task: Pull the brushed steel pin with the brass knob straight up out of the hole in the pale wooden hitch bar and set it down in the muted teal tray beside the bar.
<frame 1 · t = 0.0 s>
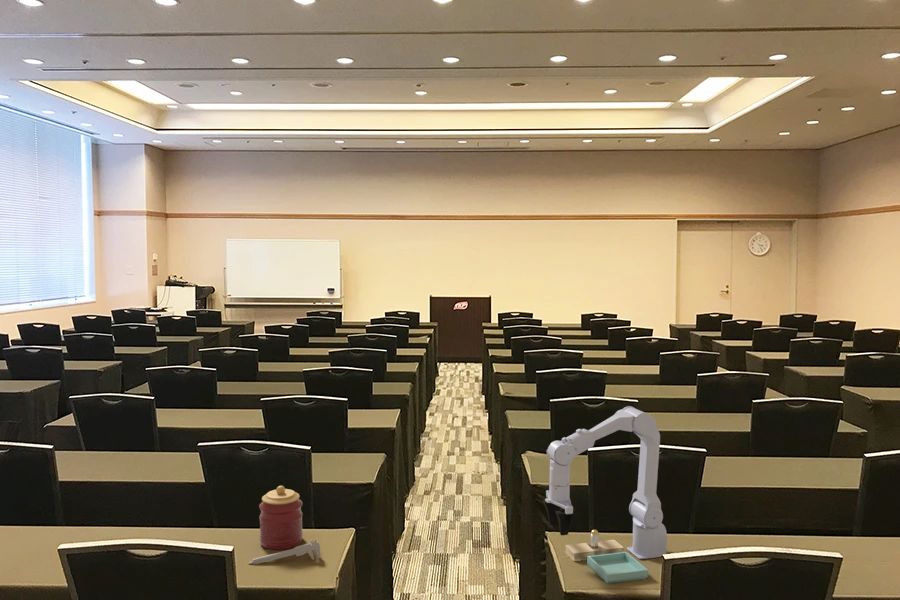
hand: (558, 529, 215), 10 cm above the table, tool pointing down, fingers open, 7 cm apart
caliper: (284, 562, 217), on the table
canister: (281, 542, 230), on the table
pin: (594, 542, 222), in the hitch bar
hitch bar: (594, 554, 222), on the table
tray: (616, 571, 211), on the table
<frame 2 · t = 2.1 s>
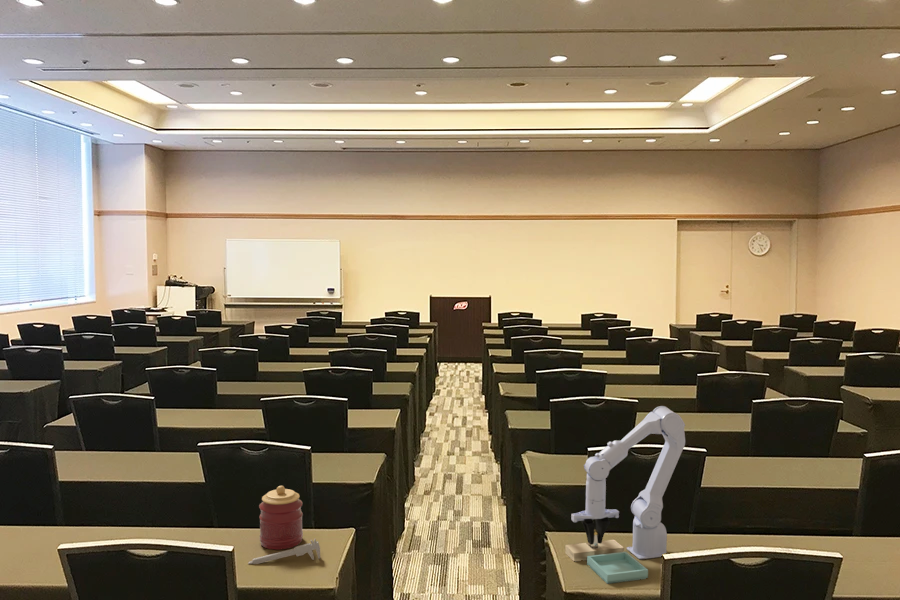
hand: (594, 542, 222), 4 cm above the table, tool pointing down, fingers closed on pin, 2 cm apart
pin: (594, 542, 222), in the hitch bar, touching gripper
everything else where it was.
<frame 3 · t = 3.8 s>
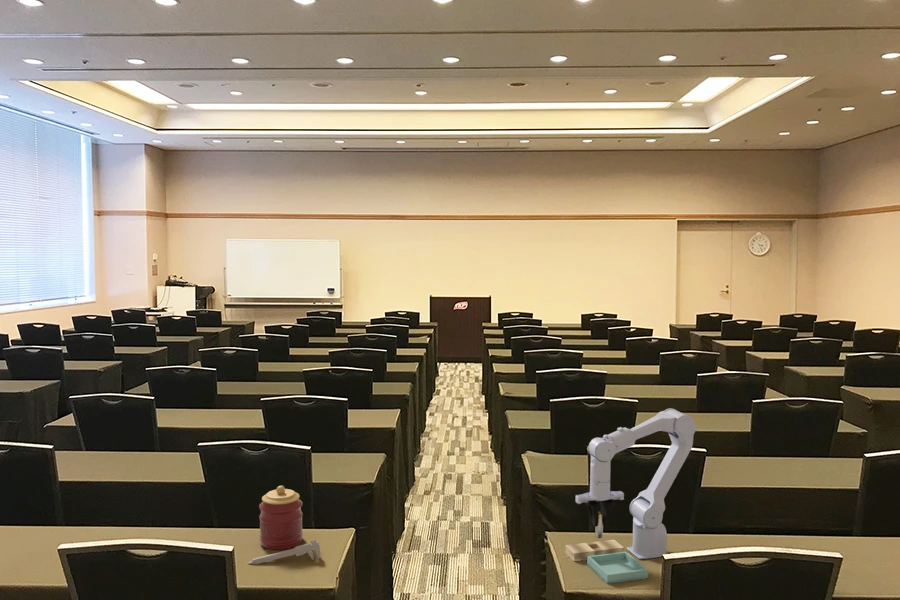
hand: (599, 524, 220), 10 cm above the table, tool pointing down, fingers closed on pin, 2 cm apart
pin: (599, 524, 220), point 10 cm above the table, touching gripper
everything else where it was.
when the fingers open (6 cm above the table, at t = 5.4 s): pin drops 1 cm, resting on tray.
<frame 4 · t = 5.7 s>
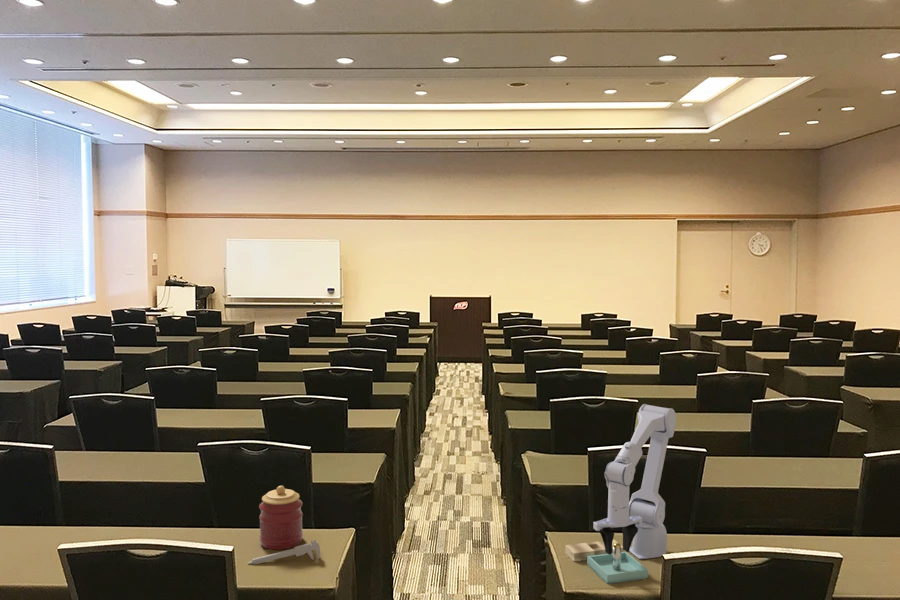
hand: (617, 551, 211), 6 cm above the table, tool pointing down, fingers open, 5 cm apart
pin: (616, 556, 211), in the tray, point 4 cm above the table
everything else where it was.
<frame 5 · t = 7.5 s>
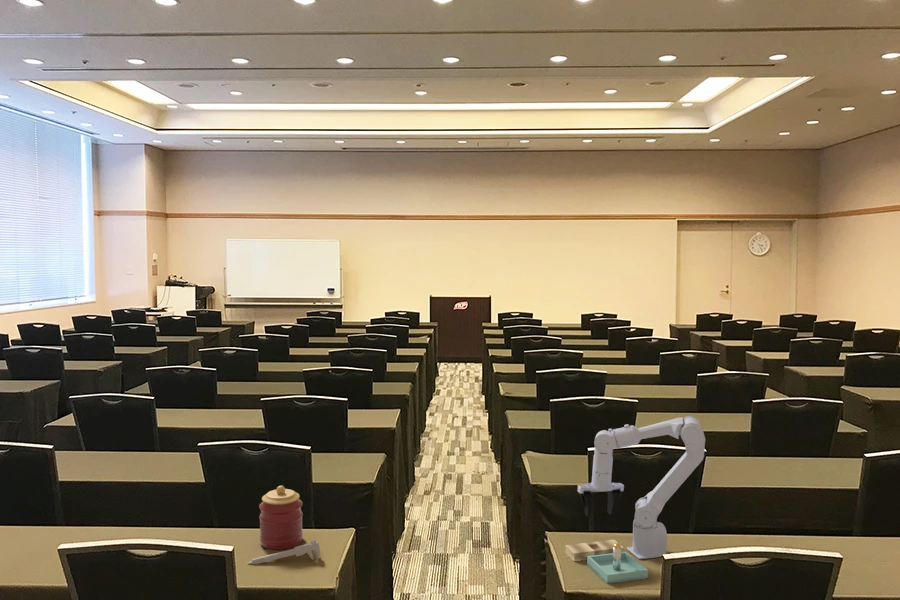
hand: (598, 514, 226), 10 cm above the table, tool pointing down, fingers open, 7 cm apart
nothing on the table moved.
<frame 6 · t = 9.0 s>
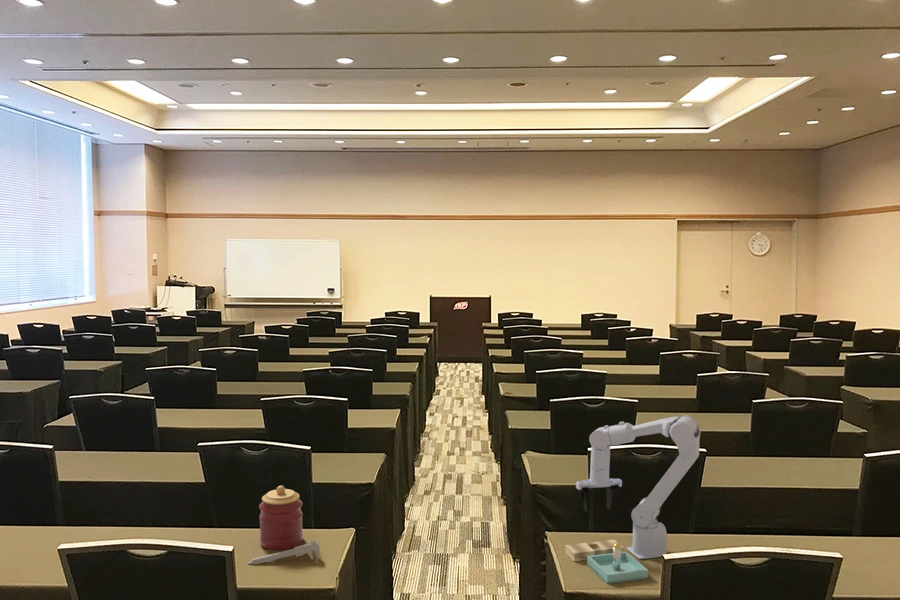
hand: (597, 510, 230), 10 cm above the table, tool pointing down, fingers open, 7 cm apart
nothing on the table moved.
at the end: pin inside the target area on the tray (0.1 cm from its centre), point 4.4 cm above the tray's base; pin moved 11.9 cm from its start; the gripper is holding nothing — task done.
